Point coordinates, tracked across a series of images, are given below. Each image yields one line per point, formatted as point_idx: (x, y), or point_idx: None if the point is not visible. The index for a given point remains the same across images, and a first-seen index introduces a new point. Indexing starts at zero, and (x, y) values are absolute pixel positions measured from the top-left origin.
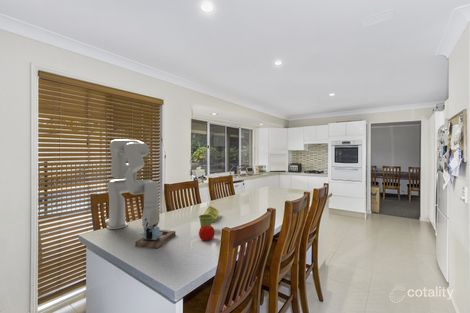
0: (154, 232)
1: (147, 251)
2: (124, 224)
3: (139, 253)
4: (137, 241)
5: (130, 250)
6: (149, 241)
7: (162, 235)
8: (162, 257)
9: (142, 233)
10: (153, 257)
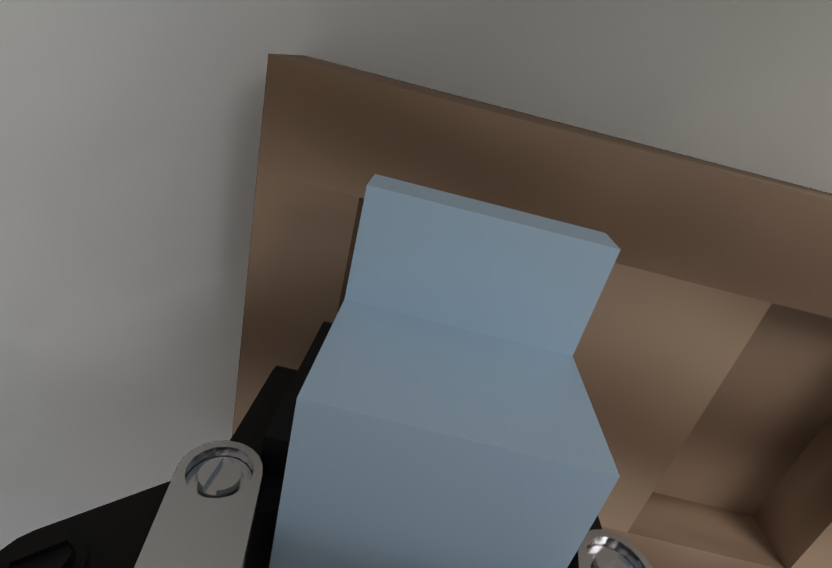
0: None
1: (148, 339)
2: None
3: (56, 250)
4: (289, 106)
5: (112, 38)
6: None
7: (619, 496)
8: (52, 523)
9: (356, 250)
10: (18, 447)
